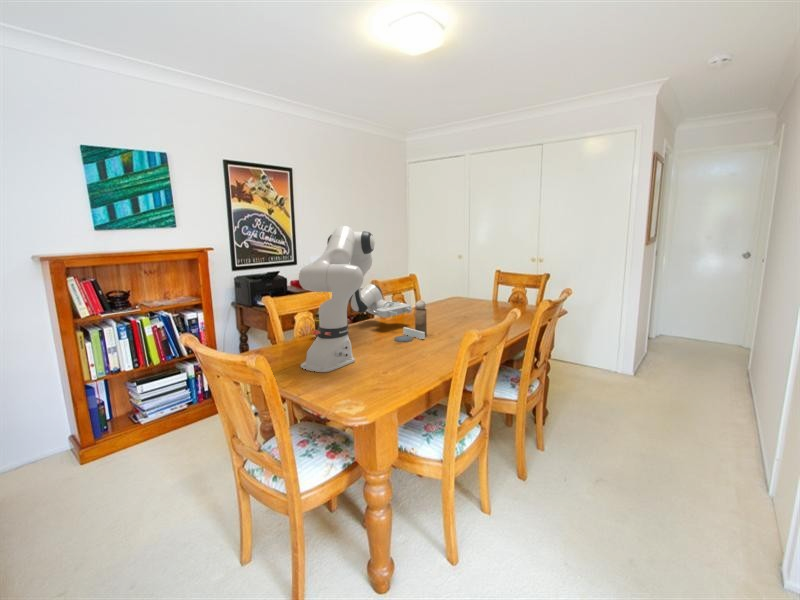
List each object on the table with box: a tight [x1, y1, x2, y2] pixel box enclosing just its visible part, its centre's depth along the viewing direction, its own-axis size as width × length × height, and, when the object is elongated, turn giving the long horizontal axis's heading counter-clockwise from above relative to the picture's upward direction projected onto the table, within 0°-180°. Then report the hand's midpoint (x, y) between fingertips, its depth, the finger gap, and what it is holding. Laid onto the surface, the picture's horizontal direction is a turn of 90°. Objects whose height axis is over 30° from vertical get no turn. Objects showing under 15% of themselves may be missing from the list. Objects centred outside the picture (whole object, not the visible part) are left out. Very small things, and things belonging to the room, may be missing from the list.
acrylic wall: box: [402, 326, 426, 340], centre depth 193 cm, size 14×1×4 cm, turn 42°
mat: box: [393, 335, 414, 343], centre depth 189 cm, size 9×9×1 cm
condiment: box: [314, 312, 320, 338], centre depth 195 cm, size 7×8×12 cm
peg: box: [414, 299, 428, 336], centre depth 194 cm, size 6×6×18 cm
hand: (404, 312), depth 203 cm, fingers open, 8 cm apart
